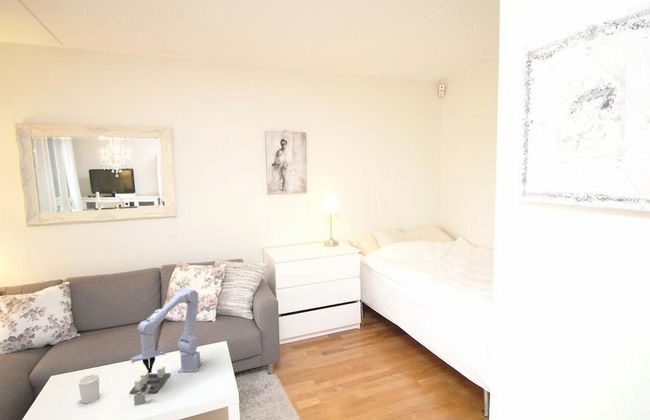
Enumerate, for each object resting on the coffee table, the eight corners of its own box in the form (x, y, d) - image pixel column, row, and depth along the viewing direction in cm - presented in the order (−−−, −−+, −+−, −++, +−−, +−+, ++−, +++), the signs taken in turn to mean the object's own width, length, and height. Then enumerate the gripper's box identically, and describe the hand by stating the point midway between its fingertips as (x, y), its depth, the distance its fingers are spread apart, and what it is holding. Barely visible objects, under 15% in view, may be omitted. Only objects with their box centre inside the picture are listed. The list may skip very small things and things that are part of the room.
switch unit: (170, 375, 176) (170, 372, 175) (156, 393, 161) (156, 390, 161) (145, 376, 175) (145, 373, 175) (129, 394, 160) (129, 391, 160)
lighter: (134, 405, 152) (133, 388, 152) (135, 402, 154) (134, 386, 153) (151, 402, 154) (150, 385, 154) (152, 399, 156) (151, 383, 155)
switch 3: (165, 374, 174) (164, 366, 174) (162, 377, 171) (161, 369, 171) (160, 374, 174) (160, 366, 174) (157, 377, 171) (157, 369, 171)
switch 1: (143, 386, 164) (142, 377, 164) (140, 390, 161) (139, 381, 161) (138, 386, 164) (138, 377, 164) (135, 390, 161) (134, 381, 161)
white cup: (84, 406, 152) (83, 386, 151) (77, 400, 156) (75, 380, 155) (103, 397, 159) (102, 377, 158) (95, 391, 163) (94, 372, 162)
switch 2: (148, 380, 169) (148, 371, 169) (145, 383, 166) (145, 375, 166) (144, 380, 169) (143, 372, 169) (140, 383, 166) (140, 375, 166)
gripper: (163, 338, 168) (165, 363, 169) (130, 346, 161) (132, 372, 162) (165, 344, 162) (166, 370, 163) (130, 352, 155) (132, 380, 156)
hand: (149, 372), depth 162 cm, fingers closed
